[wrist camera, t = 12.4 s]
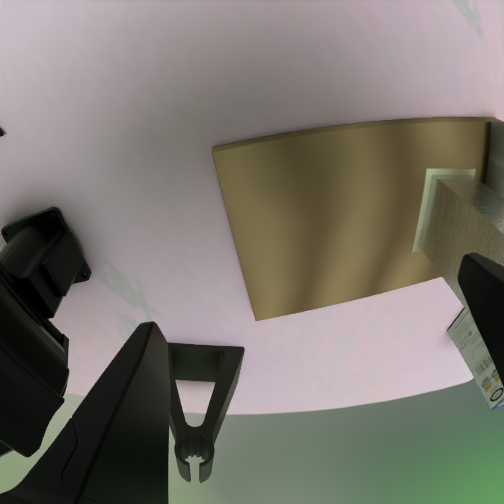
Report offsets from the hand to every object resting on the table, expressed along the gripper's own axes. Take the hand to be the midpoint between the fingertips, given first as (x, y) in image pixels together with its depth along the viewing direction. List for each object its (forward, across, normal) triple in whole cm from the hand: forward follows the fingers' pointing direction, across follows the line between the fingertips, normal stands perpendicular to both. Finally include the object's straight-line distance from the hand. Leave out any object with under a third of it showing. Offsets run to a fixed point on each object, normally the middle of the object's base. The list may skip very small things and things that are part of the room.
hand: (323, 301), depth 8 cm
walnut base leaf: (+13, -8, +6) cm, 16 cm away
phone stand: (+13, +10, +19) cm, 25 cm away
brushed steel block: (+12, -13, +6) cm, 18 cm away
